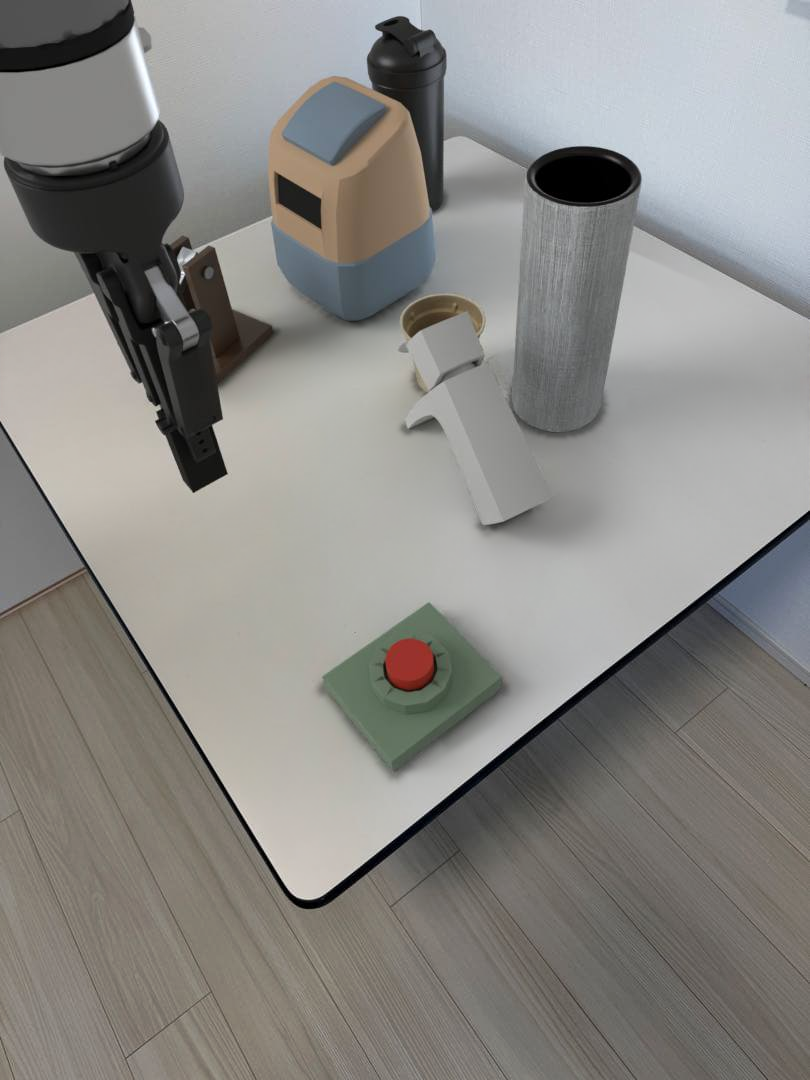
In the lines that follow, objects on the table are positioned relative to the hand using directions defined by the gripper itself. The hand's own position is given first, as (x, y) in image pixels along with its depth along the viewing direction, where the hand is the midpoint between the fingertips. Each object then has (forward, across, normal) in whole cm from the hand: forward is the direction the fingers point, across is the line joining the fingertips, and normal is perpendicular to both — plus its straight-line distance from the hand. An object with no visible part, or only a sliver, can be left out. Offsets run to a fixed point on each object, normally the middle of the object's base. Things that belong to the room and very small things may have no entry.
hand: (205, 476), depth 56 cm
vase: (+24, +6, -43) cm, 49 cm away
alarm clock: (+24, +40, -39) cm, 61 cm away
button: (+20, -11, -8) cm, 25 cm away
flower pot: (+24, +18, -35) cm, 46 cm away
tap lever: (+16, +40, -14) cm, 45 cm away
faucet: (+24, +5, -28) cm, 38 cm away
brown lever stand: (+25, +41, -18) cm, 51 cm away
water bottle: (+24, +50, -56) cm, 79 cm away
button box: (+24, -12, -8) cm, 28 cm away
